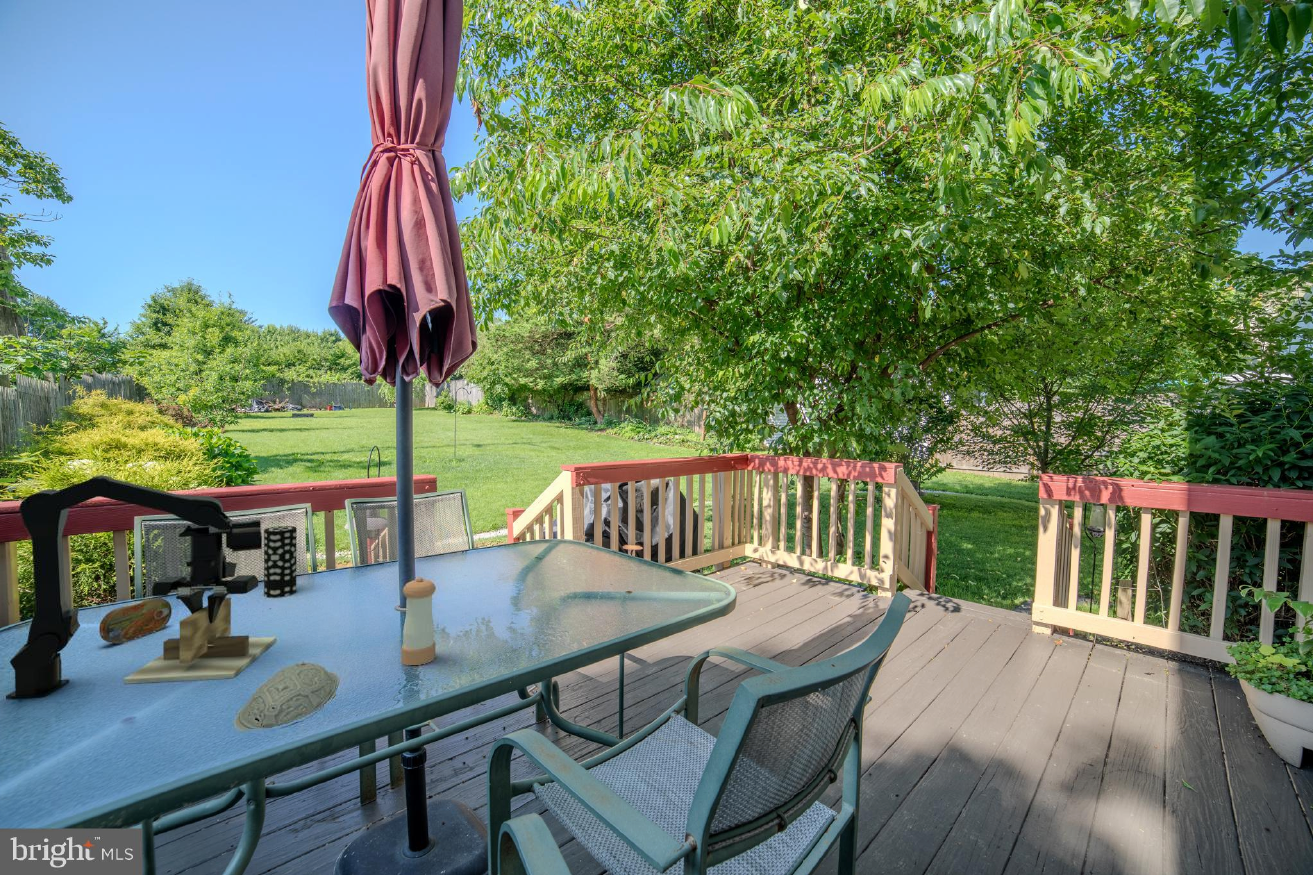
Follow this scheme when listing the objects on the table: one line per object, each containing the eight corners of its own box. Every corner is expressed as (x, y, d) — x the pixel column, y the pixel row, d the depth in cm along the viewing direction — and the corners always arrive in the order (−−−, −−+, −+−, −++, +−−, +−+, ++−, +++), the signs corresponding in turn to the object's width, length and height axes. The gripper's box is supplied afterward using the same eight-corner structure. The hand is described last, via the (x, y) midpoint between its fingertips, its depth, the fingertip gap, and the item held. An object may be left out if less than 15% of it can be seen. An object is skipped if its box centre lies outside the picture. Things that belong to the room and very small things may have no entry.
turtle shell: (212, 736, 100) (217, 697, 101) (275, 678, 125) (279, 647, 125) (309, 737, 104) (314, 700, 104) (352, 680, 128) (356, 650, 128)
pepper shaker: (402, 654, 136) (403, 574, 135) (435, 651, 138) (436, 572, 138) (400, 667, 129) (401, 583, 128) (435, 663, 132) (436, 580, 131)
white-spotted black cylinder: (301, 592, 178) (301, 528, 178) (272, 599, 171) (272, 532, 170) (288, 587, 183) (288, 524, 182) (258, 594, 176) (258, 529, 175)
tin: (107, 649, 134) (106, 613, 134) (96, 647, 135) (96, 612, 135) (173, 626, 149) (172, 594, 149) (163, 625, 150) (162, 593, 149)
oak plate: (190, 662, 122) (190, 621, 122) (179, 663, 122) (179, 621, 122) (230, 634, 138) (230, 597, 138) (221, 634, 138) (221, 597, 137)
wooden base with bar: (233, 678, 122) (233, 654, 122) (123, 683, 118) (123, 659, 118) (276, 640, 142) (276, 620, 141) (183, 644, 138) (183, 624, 138)
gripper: (269, 545, 139) (269, 609, 139) (181, 546, 135) (181, 612, 136) (246, 556, 128) (245, 626, 128) (149, 558, 124) (149, 629, 125)
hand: (206, 622), depth 130 cm, fingers closed on oak plate, 2 cm apart
